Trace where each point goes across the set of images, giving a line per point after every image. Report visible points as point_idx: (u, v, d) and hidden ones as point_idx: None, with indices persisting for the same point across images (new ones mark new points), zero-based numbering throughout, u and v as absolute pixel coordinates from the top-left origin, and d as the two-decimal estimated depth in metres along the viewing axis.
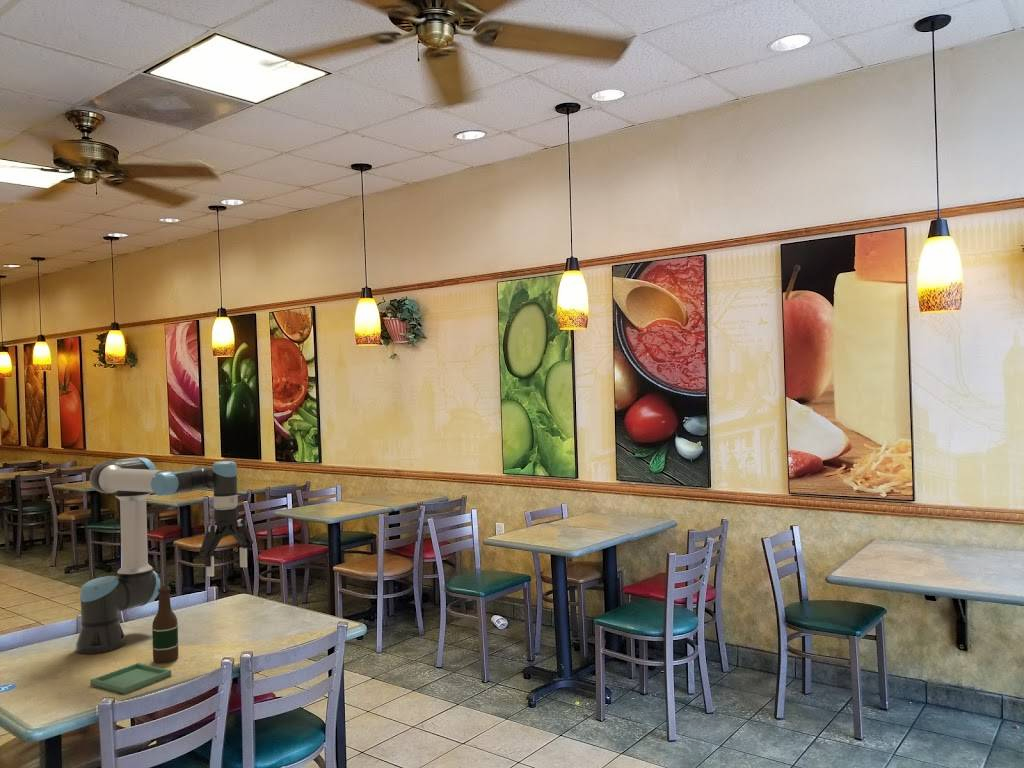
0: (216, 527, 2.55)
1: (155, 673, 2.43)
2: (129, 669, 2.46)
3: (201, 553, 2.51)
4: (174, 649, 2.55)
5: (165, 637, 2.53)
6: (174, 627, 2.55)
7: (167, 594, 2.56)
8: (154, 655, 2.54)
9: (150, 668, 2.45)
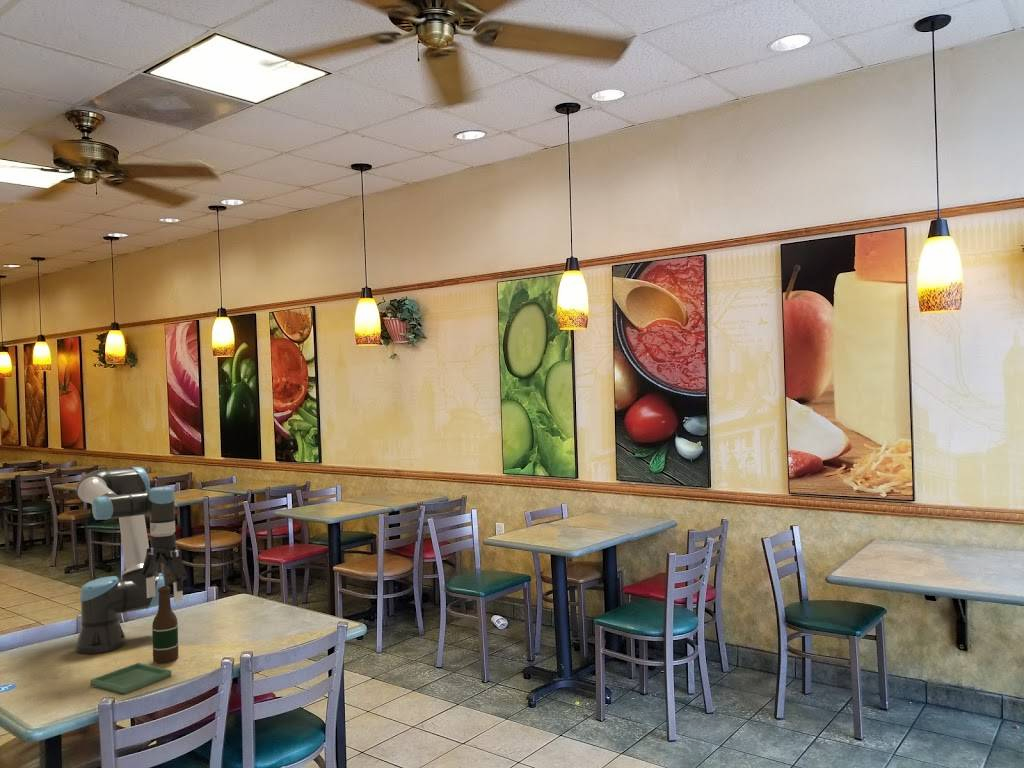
0: (153, 551, 2.58)
1: (155, 673, 2.43)
2: (129, 669, 2.46)
3: None
4: (174, 649, 2.55)
5: (165, 637, 2.53)
6: (174, 627, 2.55)
7: (167, 594, 2.56)
8: (154, 655, 2.54)
9: (150, 668, 2.45)
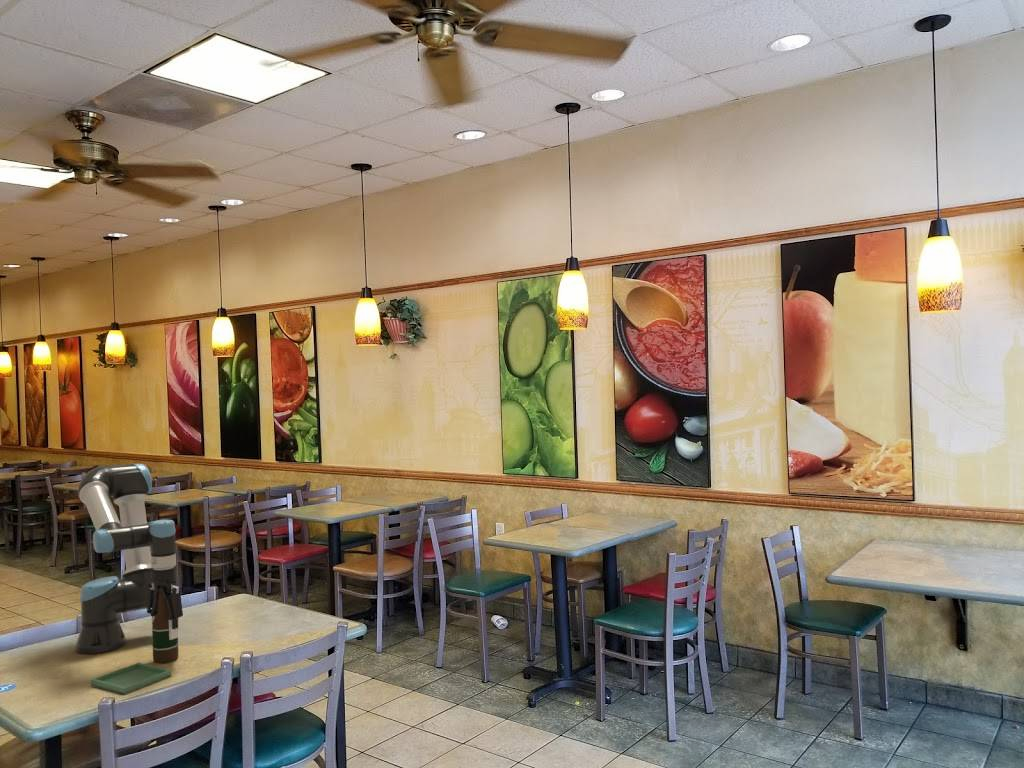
0: (153, 585, 2.58)
1: (155, 673, 2.43)
2: (129, 669, 2.46)
3: None
4: (174, 649, 2.55)
5: (165, 637, 2.53)
6: None
7: None
8: (154, 655, 2.54)
9: (150, 668, 2.45)
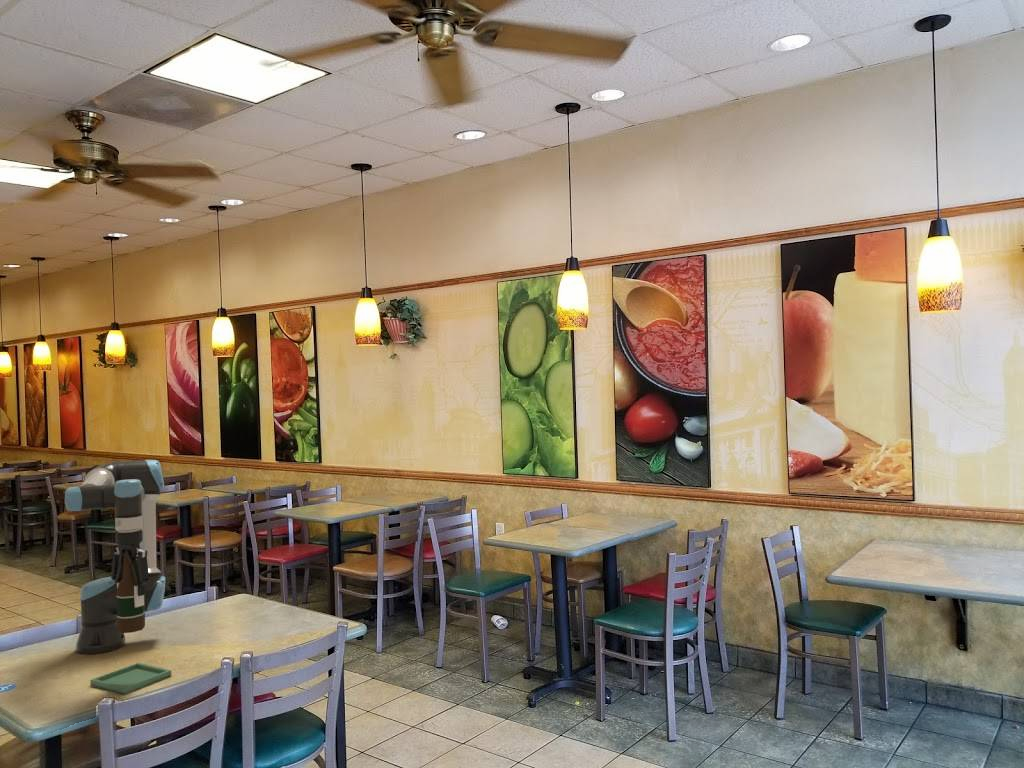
0: None
1: (155, 673, 2.43)
2: (129, 669, 2.46)
3: None
4: (140, 617, 2.38)
5: (130, 604, 2.36)
6: None
7: None
8: (118, 624, 2.36)
9: (150, 668, 2.45)
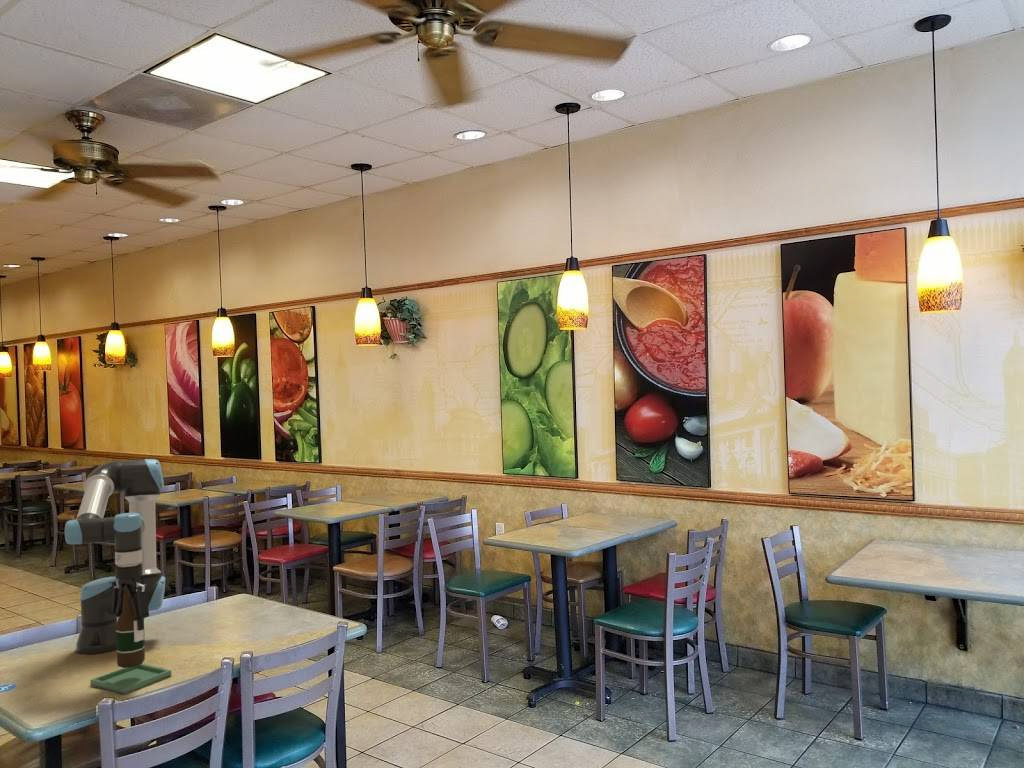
0: None
1: (155, 673, 2.43)
2: (129, 669, 2.46)
3: None
4: (140, 652, 2.37)
5: (129, 639, 2.35)
6: None
7: None
8: (118, 658, 2.36)
9: (150, 668, 2.45)
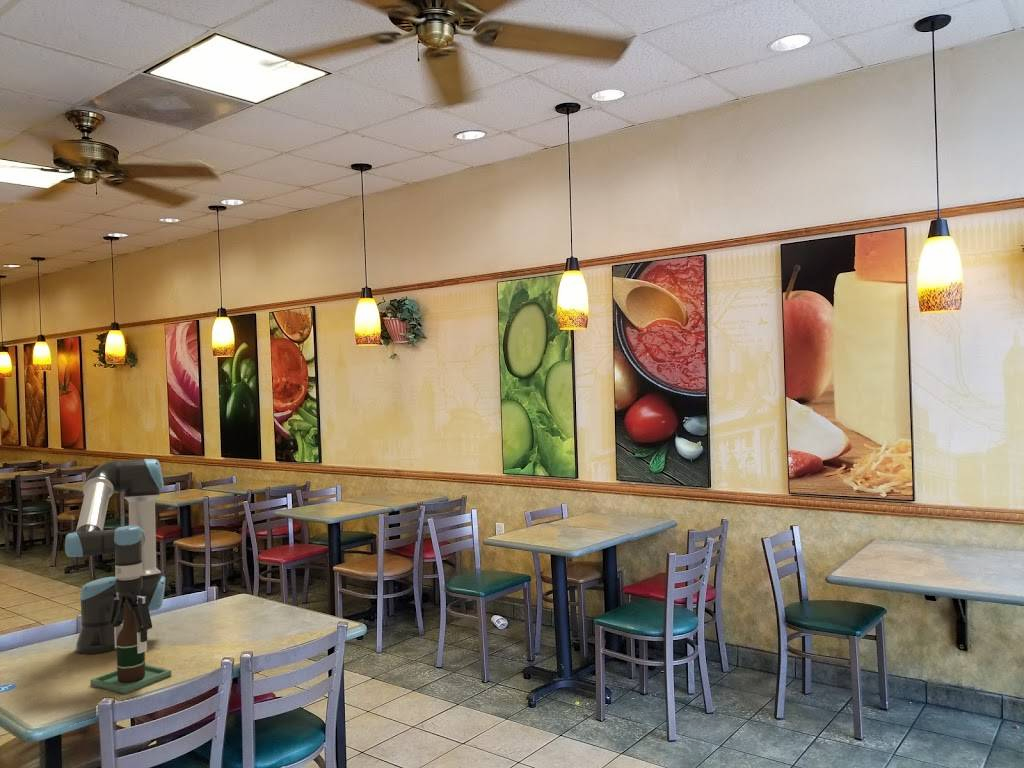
0: None
1: (155, 673, 2.43)
2: None
3: None
4: (140, 667, 2.37)
5: (130, 654, 2.35)
6: None
7: None
8: (118, 674, 2.36)
9: (150, 668, 2.45)
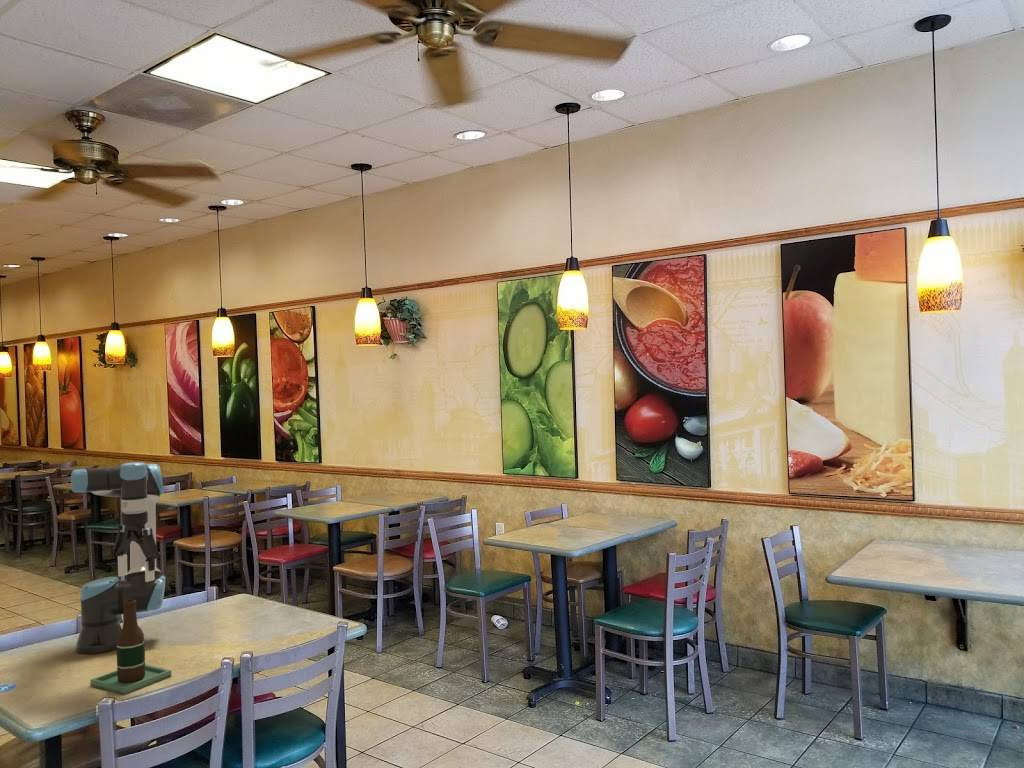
0: None
1: (155, 673, 2.43)
2: None
3: None
4: (140, 667, 2.37)
5: (130, 654, 2.35)
6: (140, 643, 2.37)
7: (132, 608, 2.38)
8: (118, 674, 2.36)
9: (150, 668, 2.45)
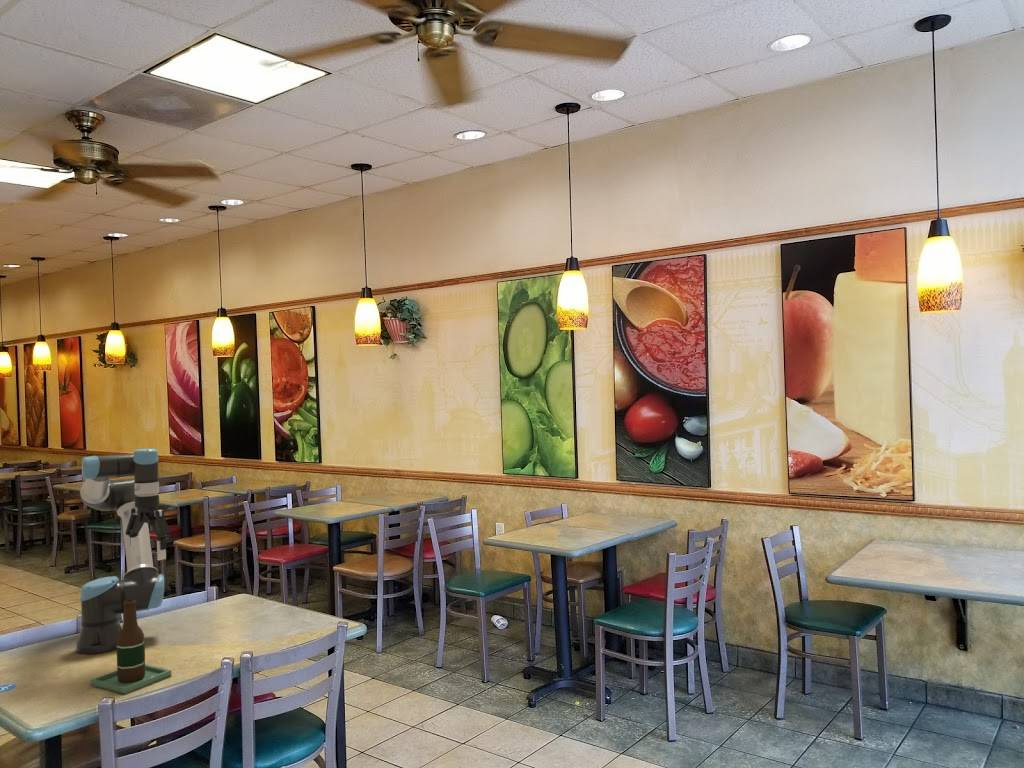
0: None
1: (155, 673, 2.43)
2: None
3: None
4: (140, 667, 2.37)
5: (130, 654, 2.35)
6: (140, 643, 2.37)
7: (132, 608, 2.38)
8: (118, 674, 2.36)
9: (150, 668, 2.45)
